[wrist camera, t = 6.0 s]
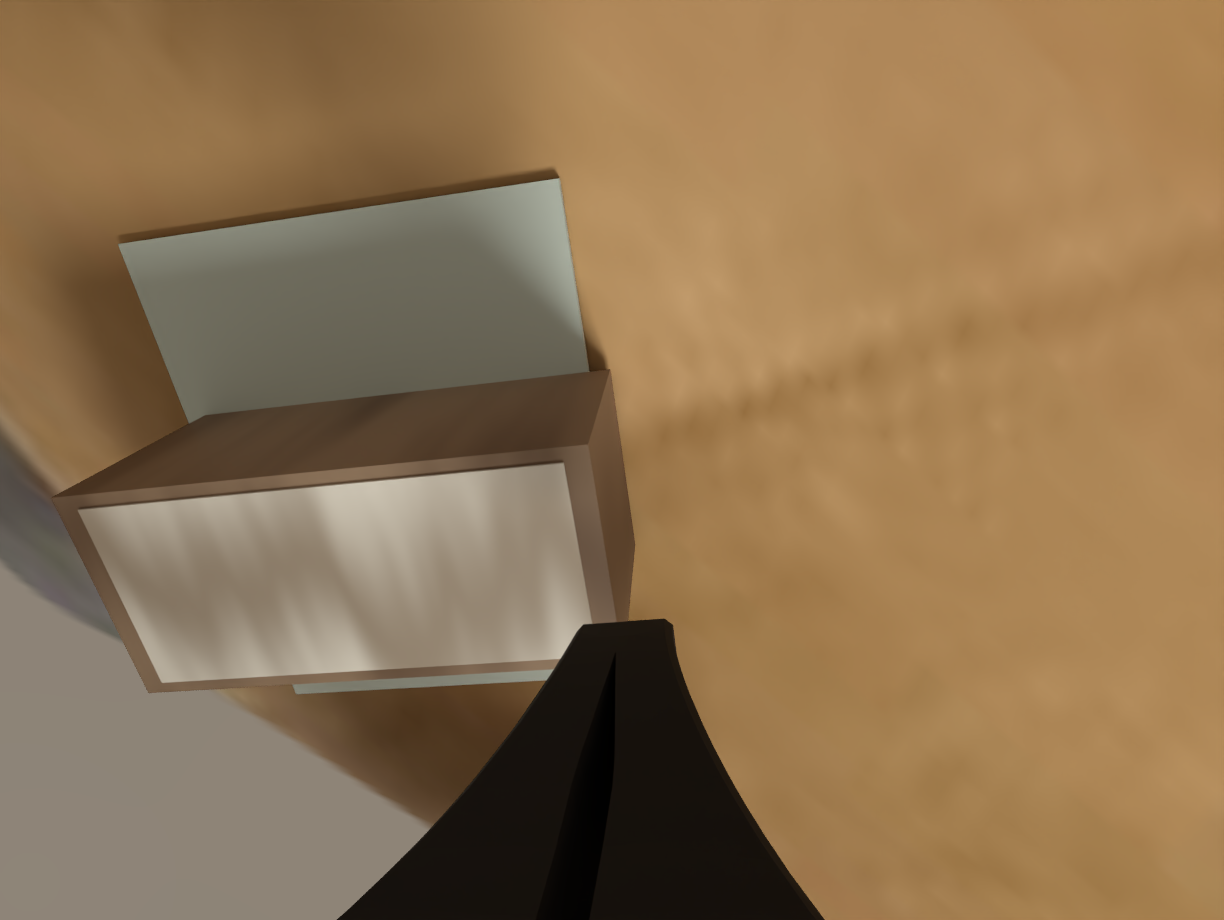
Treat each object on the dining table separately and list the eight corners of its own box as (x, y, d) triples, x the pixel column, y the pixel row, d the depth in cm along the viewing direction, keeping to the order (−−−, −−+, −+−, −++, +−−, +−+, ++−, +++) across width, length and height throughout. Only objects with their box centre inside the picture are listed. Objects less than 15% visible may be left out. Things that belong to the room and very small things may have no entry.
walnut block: (623, 666, 14) (146, 694, 16) (635, 544, 19) (266, 573, 20) (587, 445, 12) (48, 498, 14) (609, 369, 17) (205, 415, 18)
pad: (635, 670, 21) (635, 675, 21) (299, 689, 22) (296, 694, 22) (559, 178, 16) (558, 178, 15) (123, 243, 17) (117, 244, 17)
